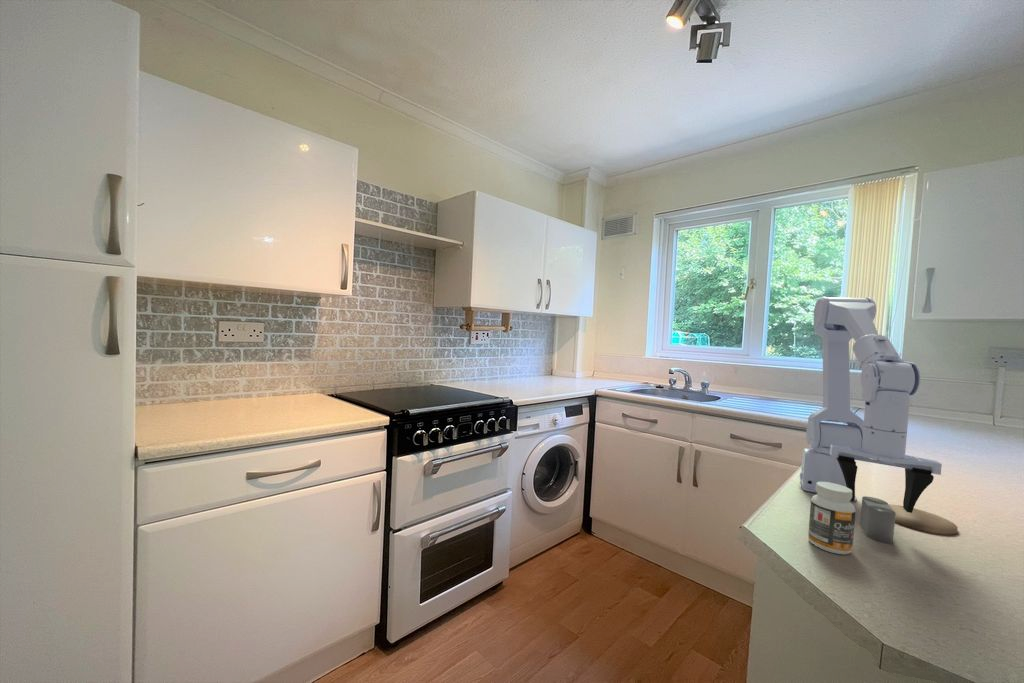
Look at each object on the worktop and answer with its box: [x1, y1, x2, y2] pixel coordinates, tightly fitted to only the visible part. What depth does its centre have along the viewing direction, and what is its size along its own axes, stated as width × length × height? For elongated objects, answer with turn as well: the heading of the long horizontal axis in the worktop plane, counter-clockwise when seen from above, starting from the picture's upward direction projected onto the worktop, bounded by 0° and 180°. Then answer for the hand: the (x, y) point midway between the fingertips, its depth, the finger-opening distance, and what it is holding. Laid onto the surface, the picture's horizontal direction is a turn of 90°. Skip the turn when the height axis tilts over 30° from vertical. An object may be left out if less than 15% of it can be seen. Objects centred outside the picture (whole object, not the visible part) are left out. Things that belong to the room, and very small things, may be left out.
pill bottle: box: [807, 482, 856, 555], centre depth 66 cm, size 6×6×10 cm
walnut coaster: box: [888, 503, 958, 536], centre depth 79 cm, size 11×11×1 cm
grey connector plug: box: [859, 495, 896, 544], centre depth 74 cm, size 11×4×5 cm, turn 148°
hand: (878, 504), depth 72 cm, fingers open, 7 cm apart
